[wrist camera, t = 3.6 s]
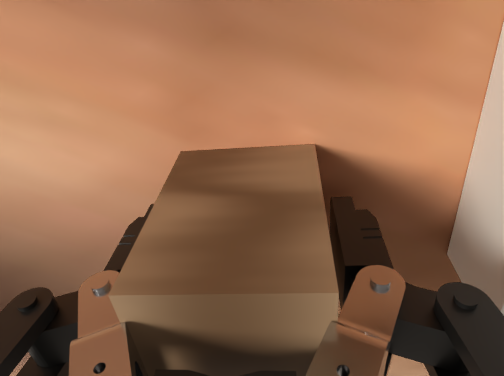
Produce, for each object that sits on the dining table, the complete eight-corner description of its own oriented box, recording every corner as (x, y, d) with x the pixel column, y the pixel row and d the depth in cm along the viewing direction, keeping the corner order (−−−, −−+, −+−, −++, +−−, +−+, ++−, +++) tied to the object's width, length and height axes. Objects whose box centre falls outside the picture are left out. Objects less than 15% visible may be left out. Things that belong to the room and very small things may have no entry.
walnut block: (203, 250, 17) (159, 413, 11) (181, 151, 14) (108, 295, 8) (315, 247, 16) (333, 417, 10) (314, 143, 14) (338, 292, 8)
